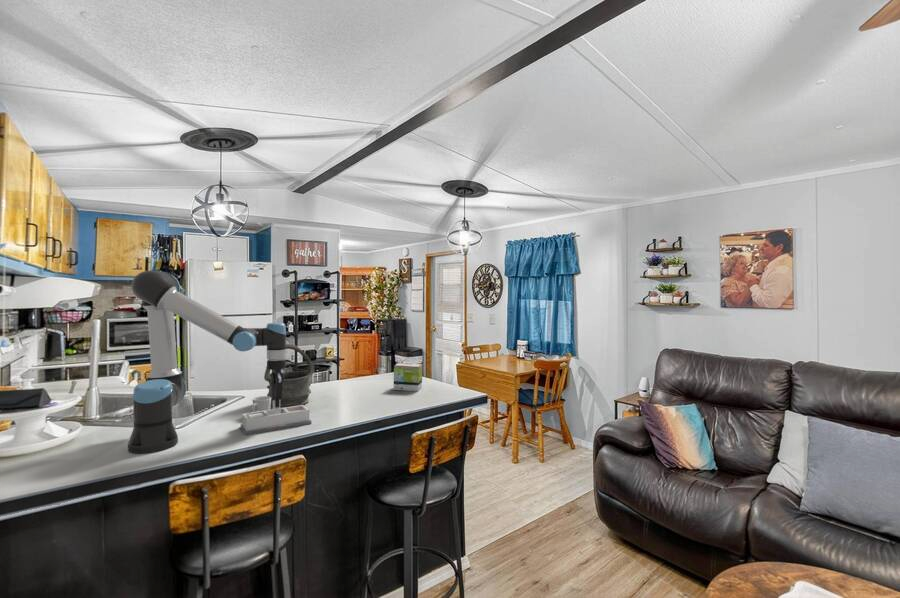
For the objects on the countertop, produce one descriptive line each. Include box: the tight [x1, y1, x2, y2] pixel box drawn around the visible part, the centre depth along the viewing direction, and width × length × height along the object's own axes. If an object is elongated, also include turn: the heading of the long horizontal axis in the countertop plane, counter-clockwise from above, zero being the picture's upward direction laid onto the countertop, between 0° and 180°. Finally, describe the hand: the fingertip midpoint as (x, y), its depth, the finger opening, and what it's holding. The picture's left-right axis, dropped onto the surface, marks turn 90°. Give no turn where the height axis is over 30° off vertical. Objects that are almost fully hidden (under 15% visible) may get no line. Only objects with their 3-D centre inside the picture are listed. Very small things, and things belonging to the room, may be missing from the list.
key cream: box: [248, 413, 264, 418], centre depth 176 cm, size 5×5×2 cm
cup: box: [250, 395, 272, 412], centre depth 194 cm, size 11×8×8 cm
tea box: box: [393, 362, 423, 392], centre depth 250 cm, size 15×10×15 cm, turn 81°
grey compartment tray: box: [239, 404, 312, 436], centre depth 181 cm, size 26×12×6 cm, turn 125°
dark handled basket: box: [263, 343, 315, 408], centre depth 217 cm, size 22×23×30 cm
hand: (276, 414), depth 181 cm, fingers closed
